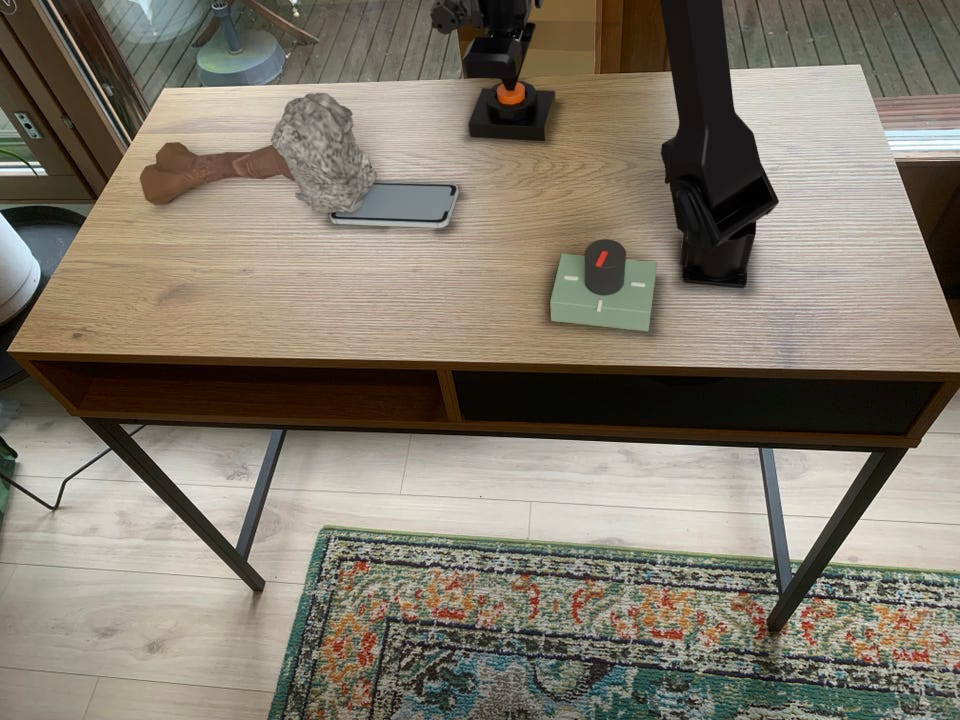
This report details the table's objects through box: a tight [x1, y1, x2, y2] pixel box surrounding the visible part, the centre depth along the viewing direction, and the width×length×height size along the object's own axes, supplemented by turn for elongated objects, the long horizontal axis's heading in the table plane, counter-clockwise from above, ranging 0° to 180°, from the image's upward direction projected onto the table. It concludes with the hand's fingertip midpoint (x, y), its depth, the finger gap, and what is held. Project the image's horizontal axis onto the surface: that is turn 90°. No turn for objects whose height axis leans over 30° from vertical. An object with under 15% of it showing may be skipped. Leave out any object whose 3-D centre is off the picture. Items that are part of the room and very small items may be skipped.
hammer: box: [139, 92, 378, 214], centre depth 90 cm, size 15×10×30 cm
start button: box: [497, 82, 525, 104], centre depth 96 cm, size 4×4×2 cm
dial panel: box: [549, 253, 658, 332], centre depth 77 cm, size 10×8×3 cm
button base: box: [468, 80, 556, 142], centre depth 98 cm, size 10×8×4 cm
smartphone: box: [329, 181, 459, 229], centre depth 91 cm, size 7×1×15 cm
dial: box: [584, 238, 627, 295], centre depth 74 cm, size 4×4×4 cm
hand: (510, 89), depth 95 cm, fingers closed, pressing on start button
